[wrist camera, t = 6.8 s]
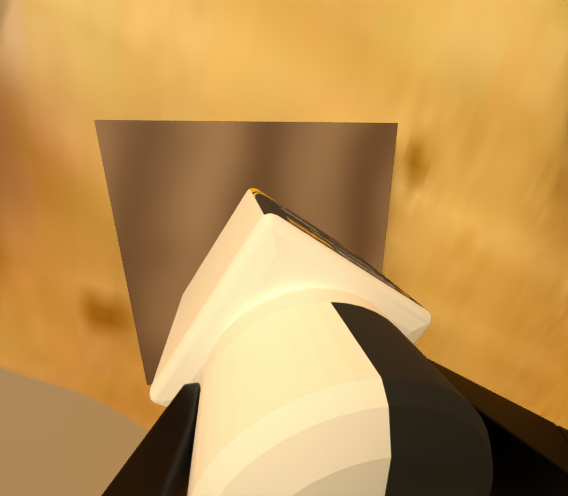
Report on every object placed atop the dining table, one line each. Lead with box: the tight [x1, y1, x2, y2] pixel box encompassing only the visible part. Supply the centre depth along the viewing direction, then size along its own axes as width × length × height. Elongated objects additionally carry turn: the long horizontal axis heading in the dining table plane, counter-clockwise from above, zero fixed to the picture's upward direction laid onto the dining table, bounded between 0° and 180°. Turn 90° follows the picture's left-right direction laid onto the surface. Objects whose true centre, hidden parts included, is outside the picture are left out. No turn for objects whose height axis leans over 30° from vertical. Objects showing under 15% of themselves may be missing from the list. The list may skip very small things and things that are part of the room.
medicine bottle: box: [150, 188, 493, 496], centre depth 10 cm, size 7×7×12 cm
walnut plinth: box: [94, 120, 398, 385], centre depth 18 cm, size 16×16×2 cm
